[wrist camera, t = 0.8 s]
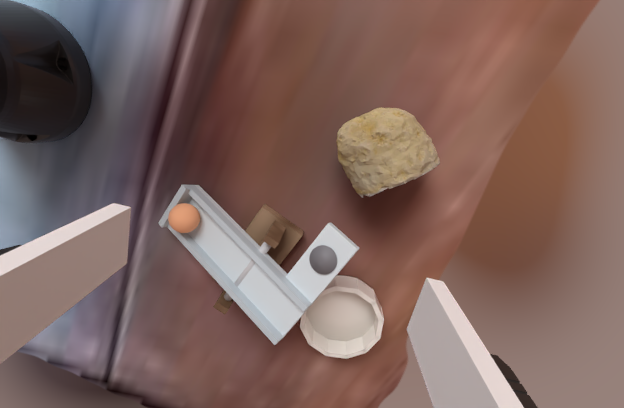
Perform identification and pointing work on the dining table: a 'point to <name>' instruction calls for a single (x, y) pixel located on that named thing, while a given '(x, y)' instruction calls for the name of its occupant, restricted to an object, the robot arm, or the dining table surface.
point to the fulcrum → (268, 240)
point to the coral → (384, 150)
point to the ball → (184, 218)
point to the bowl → (343, 319)
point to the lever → (259, 264)
